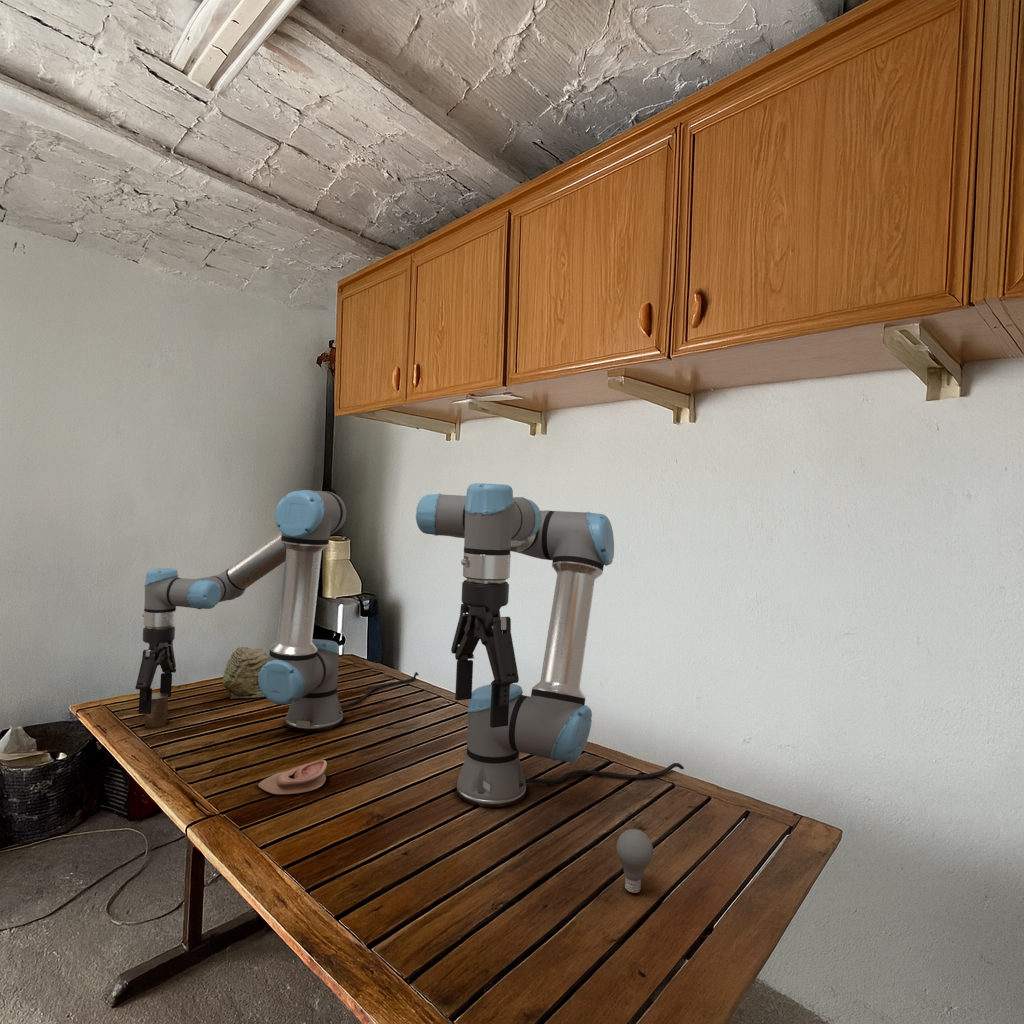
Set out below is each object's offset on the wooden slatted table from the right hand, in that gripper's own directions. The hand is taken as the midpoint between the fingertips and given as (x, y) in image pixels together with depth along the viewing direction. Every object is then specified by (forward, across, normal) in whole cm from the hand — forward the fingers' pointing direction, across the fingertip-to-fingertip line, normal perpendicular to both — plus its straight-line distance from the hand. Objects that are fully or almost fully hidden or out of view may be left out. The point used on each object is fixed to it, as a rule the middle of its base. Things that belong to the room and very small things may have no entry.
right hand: (480, 712), depth 102 cm
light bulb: (+30, +9, +25) cm, 40 cm away
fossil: (+30, -119, -21) cm, 125 cm away
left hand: (+25, -102, -48) cm, 116 cm away
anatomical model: (+30, -52, -20) cm, 63 cm away
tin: (+30, -102, -48) cm, 116 cm away
